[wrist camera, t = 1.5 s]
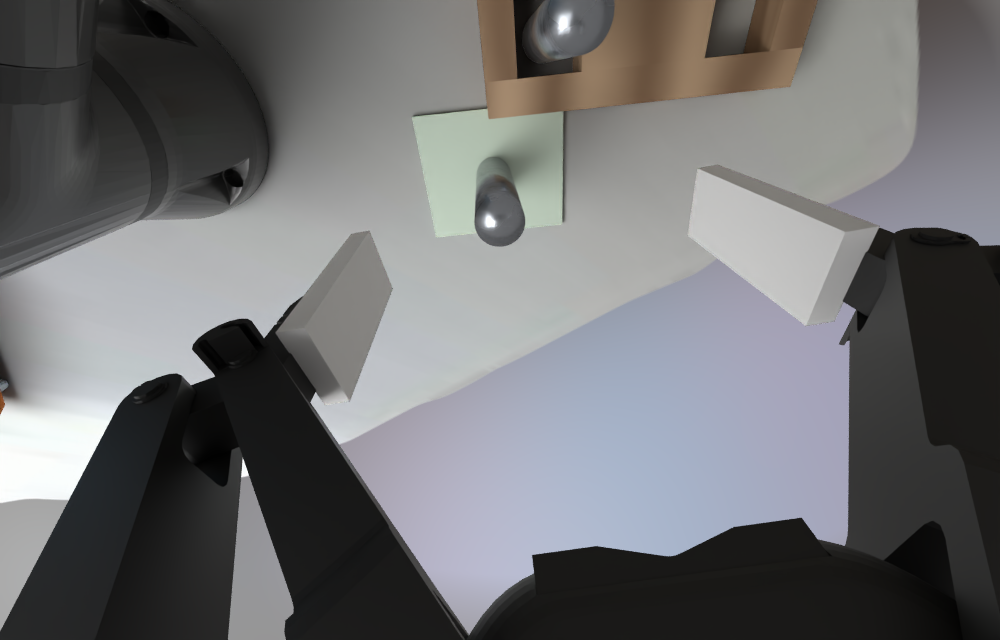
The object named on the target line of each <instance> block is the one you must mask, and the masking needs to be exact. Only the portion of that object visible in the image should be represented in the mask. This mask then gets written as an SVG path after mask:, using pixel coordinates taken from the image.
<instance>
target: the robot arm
mask: <svg viewBox="0 0 1000 640" xmlns="http://www.w3.org/2000/svg"><path fill="white" fill-rule="evenodd" d="M267 162H268V138H267V131H266V126H265V122H264V119H263V115H262V112H261V109H260V107H259V104H258V102H257V99H256V97H255V95H254V93H253V91H252V89H251V87H250V85H249V83H248V82H247V80H246V78H245V77H244V75H243V73H242V72H241V70H240V69H239V67H238V66H237V65H236V63H235V62H234V60H233V59H232V58H231V57H230V55H229V54H228V53H227V52H226V50H225V49H224V48H223V47H222V46H221V45H220V44H219V42H218V41H217V40H216V39H215V38H214V37H213V36H212V35H211V34H210V33H209V32H208V31H207V30H206V29H204V28H203V27H202V26H201V25H200V24H199V23H198V22H196V21H195V20H194V19H193V18H192V17H190V16H189V15H188V14H186V13H185V12H184V11H182V10H181V9H179V8H178V7H176V6H175V5H173V4H172V3H170V2H168V1H167V0H0V280H1V279H3V278H6V277H8V276H10V275H12V274H15V273H17V272H19V271H22V270H24V269H27V268H29V267H31V266H34V265H36V264H38V263H41V262H43V261H45V260H48V259H50V258H52V257H55V256H57V255H60V254H62V253H64V252H67V251H69V250H71V249H74V248H76V247H78V246H81V245H83V244H85V243H88V242H90V241H93V240H95V239H97V238H100V237H102V236H104V235H107V234H109V233H111V232H114V231H116V230H118V229H121V228H123V227H125V226H127V225H130V224H132V223H135V222H137V221H139V220H171V219H199V218H206V217H210V216H214V215H217V214H220V213H223V212H225V211H227V210H229V209H231V208H233V207H235V206H237V205H239V204H240V203H242V202H244V201H245V200H247V199H248V198H249V197H250V196H251V195H252V194H253V193H254V192H255V191H256V189H257V188H258V187H259V185H260V183H261V181H262V179H263V177H264V174H265V171H266V167H267ZM879 227H880V226H878V225H875V224H873V223H870V222H868V221H865V220H862V219H860V218H857V217H854V216H851V215H849V214H847V213H844V212H841V211H838V210H836V209H833V208H831V207H828V206H825V205H823V204H820V203H818V202H815V201H812V200H810V199H807V198H804V197H802V196H799V195H796V194H794V193H791V192H788V191H786V190H783V189H781V188H778V187H775V186H773V185H770V184H767V183H765V182H762V181H759V180H757V179H754V178H752V177H749V176H746V175H744V174H741V173H738V172H736V171H733V170H730V169H728V168H725V167H722V166H720V165H713V166H708V167H703V168H698V169H697V176H696V183H695V189H694V196H693V203H692V210H691V216H690V223H689V230H688V236H689V237H690V238H692V239H693V240H694V241H695V242H697V243H698V244H699V245H701V246H702V247H703V248H705V249H706V250H707V251H708V252H710V253H711V254H712V255H714V256H715V257H716V258H718V259H719V260H721V261H722V262H723V263H724V264H725V265H727V266H728V267H729V268H731V269H732V270H733V271H735V272H736V273H737V274H739V275H740V276H741V277H743V278H744V279H745V280H747V281H748V282H749V283H750V284H752V285H753V286H754V287H756V288H757V289H758V290H759V291H761V292H762V293H763V294H765V295H766V296H767V297H769V298H770V299H771V300H772V301H774V302H775V303H777V304H778V305H779V306H780V307H782V308H783V309H784V310H786V311H787V312H788V313H789V314H791V315H792V316H794V317H795V318H796V319H797V320H799V321H800V322H801V323H803V324H804V325H805V326H810V325H816V324H822V323H828V322H833V321H835V319H836V317H837V315H838V313H839V311H840V308H841V306H842V304H843V302H845V303H846V304H848V305H850V306H851V307H853V308H855V309H856V311H855V313H854V315H853V317H852V319H851V321H850V323H849V325H848V327H847V329H846V331H845V333H844V335H843V337H842V339H841V341H840V343H839V344H840V345H845V343H846V342H847V341H849V340H850V359H849V360H850V362H849V365H850V366H849V368H850V369H849V495H848V496H849V497H848V506H849V507H848V536H847V541H846V545H845V546H842V545H839V544H835V543H831V542H827V541H822V540H818V539H817V538H816V537H815V535H814V534H813V533H812V531H811V530H810V528H809V527H808V526H807V524H806V523H805V522H804V520H803V519H802V518H797V519H789V520H782V521H775V522H768V523H761V524H754V525H746V526H739V527H733V528H731V529H729V530H727V531H725V532H723V533H721V534H719V535H717V536H715V537H713V538H711V539H709V540H707V541H705V542H703V543H701V544H699V545H697V546H695V547H693V548H691V549H689V550H687V551H685V552H683V553H681V554H678V555H676V556H669V557H668V556H660V555H653V554H646V553H639V552H632V551H625V550H619V549H612V548H604V547H598V546H594V547H588V548H581V549H573V550H565V551H558V552H551V553H544V554H536V555H532V558H533V567H534V574H532V575H530V576H528V577H526V578H524V579H522V580H521V581H519V582H518V583H516V584H515V585H513V586H512V587H511V588H509V589H508V590H506V591H505V592H504V593H503V594H502V595H501V596H500V597H499V598H498V599H496V600H495V601H494V602H493V604H492V605H491V606H490V607H489V609H487V611H486V612H485V613H484V614H483V615H482V617H481V618H480V620H479V621H478V623H477V624H476V625H475V627H474V629H473V630H472V632H471V633H470V635H469V634H468V633H467V631H466V630H465V629H464V627H463V626H462V624H461V623H460V621H459V620H458V618H457V617H456V616H455V614H454V613H453V611H452V610H451V609H450V607H449V606H448V604H447V603H446V601H445V600H444V598H443V597H442V596H441V594H440V593H439V591H438V590H437V588H436V587H435V586H434V584H433V582H432V581H431V580H430V578H429V577H428V575H427V574H426V572H425V571H424V569H423V568H422V566H421V565H420V563H419V562H418V560H417V559H416V557H415V556H414V554H413V553H412V552H411V550H410V549H409V547H408V546H407V544H406V543H405V541H404V540H403V538H402V537H401V535H400V534H399V532H398V531H397V529H396V528H395V527H394V525H393V524H392V522H391V521H390V519H389V518H388V516H387V515H386V513H385V512H384V510H383V509H382V507H381V506H380V504H379V503H378V501H377V500H376V499H375V497H374V496H373V494H372V493H371V491H370V490H369V488H368V487H367V485H366V484H365V482H364V481H363V479H362V478H361V476H360V475H359V473H358V472H357V471H356V469H355V468H354V466H353V465H352V463H351V462H350V460H349V459H348V457H347V456H346V454H345V453H344V451H343V450H342V449H341V447H340V445H339V444H338V442H337V441H336V440H335V438H334V437H333V435H332V434H331V432H330V431H329V429H328V428H327V426H326V425H325V423H324V422H323V420H322V419H321V417H320V416H319V414H318V413H317V412H316V410H315V409H314V407H313V406H312V404H311V403H310V402H311V400H312V398H313V396H314V394H315V392H316V393H317V394H318V396H319V397H320V399H321V400H322V402H323V403H324V405H330V404H336V403H342V402H349V401H350V400H351V397H352V394H353V392H354V389H355V386H356V384H357V381H358V379H359V376H360V373H361V371H362V368H363V365H364V363H365V360H366V358H367V355H368V352H369V350H370V347H371V344H372V342H373V339H374V337H375V334H376V331H377V329H378V326H379V323H380V321H381V318H382V316H383V313H384V310H385V308H386V305H387V302H388V300H389V297H390V295H391V292H392V289H393V288H392V286H391V283H390V281H389V278H388V276H387V273H386V271H385V268H384V266H383V263H382V261H381V258H380V256H379V253H378V251H377V248H376V246H375V243H374V241H373V238H372V236H371V233H370V231H365V232H360V233H354V234H351V235H350V236H349V238H348V239H347V240H346V241H345V243H344V244H343V245H342V247H341V248H340V249H339V251H338V252H337V253H336V254H335V256H334V257H333V258H332V260H331V261H330V262H329V264H328V265H327V266H326V268H325V269H324V270H323V271H322V273H321V274H320V275H319V277H318V278H317V279H316V281H315V282H314V283H313V284H312V286H311V287H310V288H309V290H308V291H307V292H306V294H305V295H304V296H303V297H301V298H300V299H298V300H297V301H296V302H294V303H293V304H292V305H290V307H289V308H288V309H287V310H286V312H285V313H284V314H283V317H281V318H280V319H279V320H278V322H277V325H274V327H273V328H272V329H271V330H270V332H269V333H268V334H267V336H266V337H265V338H263V336H262V335H261V333H260V332H259V331H258V329H257V328H256V326H255V325H254V324H253V322H252V321H251V320H249V319H237V320H233V321H229V322H226V323H224V324H221V325H219V326H217V327H215V328H213V329H211V330H209V331H208V332H206V333H205V334H203V335H202V336H201V337H199V338H198V339H197V341H196V342H195V343H194V344H193V347H192V350H193V351H194V352H195V353H196V354H197V355H198V357H199V358H200V359H201V360H202V361H203V362H204V363H205V364H206V366H207V367H208V368H209V369H210V370H211V371H212V372H213V373H214V375H215V377H213V378H210V379H207V380H205V381H202V382H199V383H196V384H194V385H190V384H189V383H188V382H187V381H186V380H185V379H184V378H183V377H182V376H181V375H179V374H168V375H164V376H161V377H158V378H156V379H154V380H151V381H147V382H145V383H143V384H141V386H138V387H137V388H135V389H134V390H133V391H132V392H131V393H130V394H129V395H128V396H127V397H125V398H124V399H123V401H122V402H121V403H120V405H119V406H118V408H117V410H116V411H115V413H114V415H113V417H112V419H111V421H110V423H109V425H108V427H107V429H106V431H105V432H104V434H103V436H102V438H101V440H100V442H99V444H98V446H97V448H96V450H95V451H94V453H93V455H92V457H91V459H90V461H89V463H88V465H87V467H86V469H85V471H84V472H83V474H82V476H81V478H80V480H79V482H78V484H77V486H76V488H75V490H74V492H73V493H72V495H71V497H70V499H69V501H68V503H67V505H66V507H65V509H64V511H63V513H62V514H61V516H60V519H59V520H58V522H57V524H56V526H55V528H54V530H53V532H52V534H51V535H50V537H49V539H48V541H47V543H46V545H45V547H44V549H43V551H42V553H41V555H40V556H39V558H38V560H37V562H36V564H35V566H34V568H33V570H32V572H31V574H30V576H29V577H28V579H27V581H26V583H25V585H24V587H23V589H22V591H21V593H20V595H19V597H18V599H17V600H16V602H15V604H14V606H13V608H12V610H11V612H10V614H9V616H8V618H7V620H6V621H5V623H4V625H3V627H2V629H1V631H0V640H228V629H229V618H230V606H231V593H232V580H233V569H234V557H235V544H236V532H237V520H238V507H239V496H240V482H241V471H242V459H244V462H245V465H246V468H247V471H248V473H249V476H250V479H251V482H252V485H253V488H254V491H255V494H256V496H257V500H258V502H259V505H260V508H261V511H262V514H263V517H264V519H265V523H266V526H267V528H268V531H269V534H270V537H271V540H272V543H273V546H274V549H275V552H276V555H277V558H278V560H279V563H280V566H281V569H282V572H283V575H284V578H285V581H286V584H287V587H288V589H289V592H290V595H291V598H292V602H293V606H294V613H293V614H292V615H291V616H290V617H289V618H288V619H287V620H286V621H285V631H284V632H285V637H286V640H1000V245H994V246H979V244H978V242H977V241H975V240H974V239H973V238H972V237H970V236H968V235H966V234H962V233H958V232H954V231H950V230H947V229H942V228H910V229H903V230H900V231H897V232H895V233H892V232H890V231H887V230H884V229H882V228H879Z"/></svg>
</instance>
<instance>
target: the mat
mask: <svg viewBox="0 0 1000 640" xmlns="http://www.w3.org/2000/svg"><path fill="white" fill-rule="evenodd" d="M412 120H413V125H414V130H415V135H416V140H417V145H418V150H419V155H420V160H421V165H422V170H423V175H424V179H425V184H426V189H427V194H428V199H429V204H430V209H431V214H432V219H433V224H434V229H435V234H436V238H437V237H447V236H456V235H466V234H475V233H477V232H476V229H475V225H474V218H475V196H476V174H477V169H478V167H479V165H480V163H481V162H482V161H483V160H485V159H487V158H489V157H498V158H501V159H503V160H504V161H505V162H506V163H507V164H508V166H509V168H510V171H511V174H512V177H513V180H514V183H515V186H516V189H517V192H518V196H519V199H520V202H521V205H522V208H523V211H524V215H525V227H524V228H533V227H543V226H552V225H562V191H563V111H561V112H552V113H542V114H533V115H524V116H515V117H506V118H496V119H489V118H488V110H487V109H478V110H469V111H460V112H451V113H441V114H432V115H423V116H414V117H412Z"/></svg>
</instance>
